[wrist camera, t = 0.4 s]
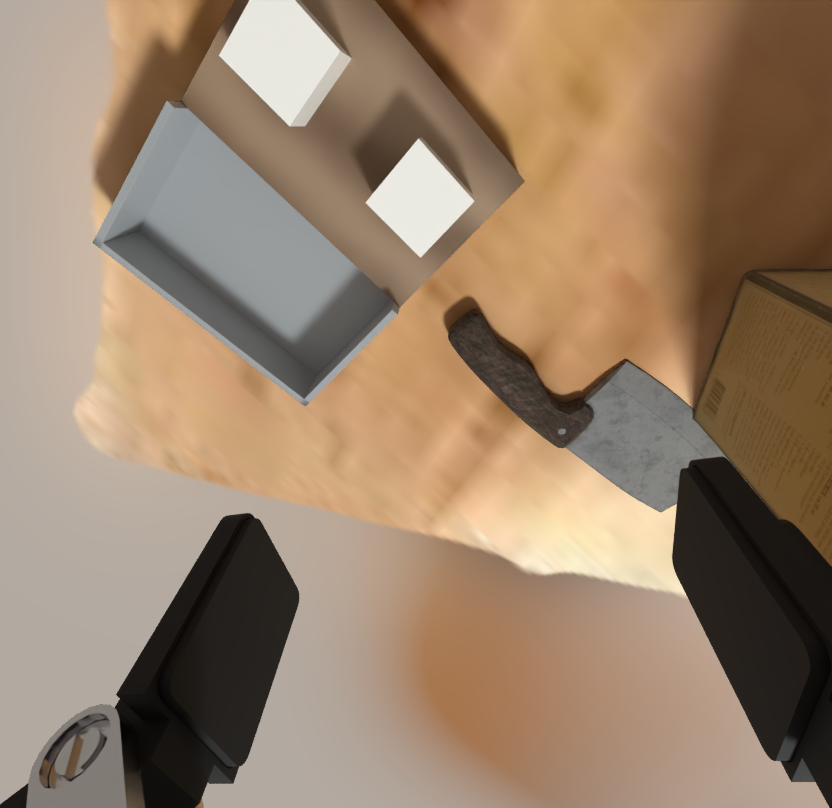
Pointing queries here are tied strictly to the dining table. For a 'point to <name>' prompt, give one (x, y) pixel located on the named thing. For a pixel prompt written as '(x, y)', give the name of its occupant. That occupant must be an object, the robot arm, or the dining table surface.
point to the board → (357, 141)
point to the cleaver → (596, 417)
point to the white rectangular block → (285, 57)
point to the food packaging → (778, 396)
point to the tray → (240, 258)
